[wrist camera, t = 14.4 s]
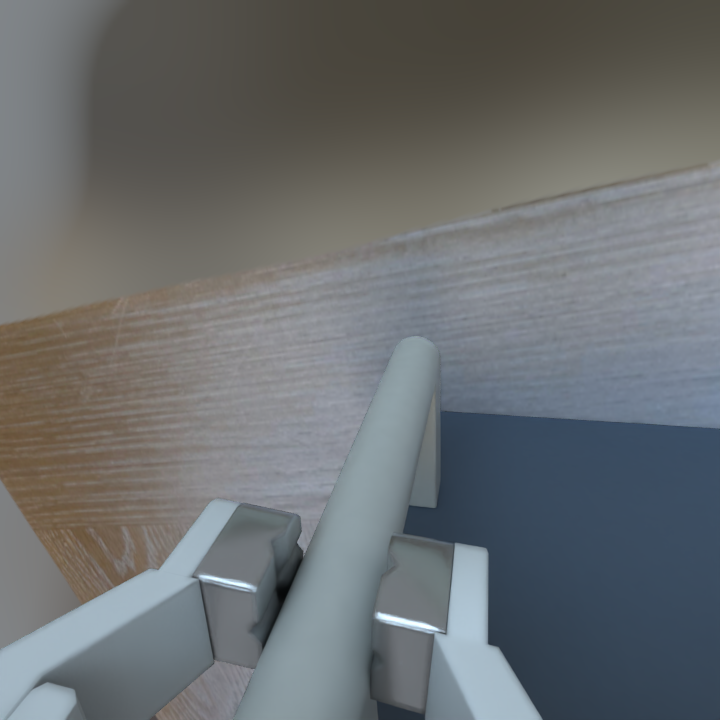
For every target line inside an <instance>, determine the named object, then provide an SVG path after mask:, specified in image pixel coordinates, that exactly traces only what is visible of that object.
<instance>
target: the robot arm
mask: <svg viewBox="0 0 720 720" xmlns="http://www.w3.org/2000/svg"><path fill="white" fill-rule="evenodd" d="M301 532H302V530H301V520H300V516H299V515H297V514H294V513H289V512H285V511H280V510H275V509H271V508H266V507H261V506H257V505H252V504H247V503H240V502H235V501H231V500H226V499H222V498H216V499H214V500H213V501H211V502H210V503H209V504H208V505H207V506H206V508H205V509H204V510H203V512H202V513H201V514H200V516H199V517H198V518H197V520H196V521H195V522H194V524H193V525H192V526H191V528H190V529H189V530H188V532H187V533H186V534H185V536H184V537H183V538H182V540H181V541H180V542H179V544H178V545H177V546H176V548H175V549H174V550H173V552H172V553H171V554H170V556H169V557H168V558H167V559H166V561H165V562H164V563H163V565H162V566H161V567H160V569H159V570H157V569H152V568H150V569H148V570H146V571H144V572H143V573H141V574H139V575H137V576H135V577H133V578H131V579H130V580H128V581H126V582H124V583H122V584H120V585H119V586H117V587H115V588H113V589H111V590H109V591H107V592H106V593H104V594H102V595H100V596H98V597H96V598H94V599H93V600H91V601H89V602H87V603H85V604H83V605H81V606H80V607H78V608H76V609H74V610H72V611H70V612H69V613H67V614H65V615H63V616H61V617H59V618H57V619H56V620H54V621H52V622H50V623H48V624H46V625H45V626H43V627H41V628H39V629H37V630H35V631H33V632H31V633H30V634H28V635H26V636H24V637H22V638H20V639H19V640H17V641H15V642H13V643H11V644H9V645H8V646H6V647H4V648H2V649H0V720H149V719H150V718H151V717H153V716H154V715H155V714H156V713H157V712H159V711H160V710H161V709H162V708H163V707H164V706H165V705H167V704H168V703H169V702H170V701H171V700H172V699H174V698H175V697H176V696H177V695H178V694H179V693H181V692H182V691H183V690H184V689H185V688H186V687H187V686H189V685H190V684H191V683H192V682H193V681H194V680H196V679H197V678H198V677H199V676H200V675H201V674H203V673H204V672H205V671H206V670H207V669H208V668H209V667H211V666H212V665H213V664H214V660H217V661H222V662H226V663H230V664H235V665H239V666H243V667H248V668H252V669H255V668H256V666H257V663H258V661H259V659H260V656H261V654H262V652H263V649H264V647H265V645H266V643H267V640H268V638H269V636H270V633H271V631H272V629H273V626H274V624H275V622H276V620H277V617H278V615H279V613H280V610H281V608H282V606H283V604H284V601H285V599H286V597H287V594H288V592H289V590H290V587H291V585H292V583H293V581H294V578H295V576H296V574H297V571H298V569H299V567H300V564H301V562H302V560H303V551H302V549H301V548H300V547H299V545H298V544H297V540H298V538H299V536H300V534H301ZM371 650H372V651H373V658H372V663H371V667H370V699H372V700H375V701H379V702H382V703H386V704H389V705H393V706H396V707H399V708H403V709H406V710H410V711H413V712H416V713H420V714H423V715H425V720H543V719H542V718H541V716H540V714H539V713H538V711H537V709H536V708H535V706H534V704H533V703H532V701H531V700H530V698H529V696H528V695H527V693H526V691H525V690H524V688H523V686H522V685H521V683H520V681H519V680H518V678H517V676H516V675H515V673H514V672H513V670H512V668H511V667H510V665H509V663H508V662H507V660H506V658H505V657H504V655H503V653H502V652H501V650H500V649H499V647H496V646H492V645H489V644H488V551H487V549H486V548H483V547H478V546H472V545H466V544H461V543H455V544H454V542H449V541H443V540H438V539H432V538H426V537H421V536H415V535H409V534H404V533H398V532H393V534H392V536H391V540H390V543H389V547H388V554H387V570H386V572H385V573H384V574H383V575H382V576H381V580H380V584H379V589H378V593H377V597H376V601H375V605H374V610H373V614H372V627H371Z"/></svg>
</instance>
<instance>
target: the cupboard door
mask: <svg viewBox="0 0 720 720" xmlns="http://www.w3.org/2000/svg"><path fill="white" fill-rule="evenodd" d="M393 532H398V533H404V534H409V535H415V536H421V537H426V538H432V539H438V540H443V541H449V542H454V544H455V543H461V544H466V545H472V546H478V547H483V548H486V549H487V551H488V644H489V645H492V646H496V647H499V649H500V650H501V652H502V653H503V655H504V657H505V658H506V660H507V662H508V663H509V665H510V667H511V668H512V670H513V672H514V673H515V675H516V676H517V678H518V680H519V681H520V683H521V685H522V686H523V688H524V690H525V691H526V693H527V695H528V696H529V698H530V700H531V701H532V703H533V704H534V706H535V708H536V709H537V711H538V713H539V714H540V716H541V718H542V719H543V720H720V429H714V428H698V427H682V426H666V425H650V424H634V423H619V422H603V421H587V420H571V419H555V418H539V417H523V416H508V415H492V414H476V413H460V412H444V411H440V353H439V351H438V349H437V347H436V346H435V345H434V344H433V343H432V342H431V341H429V340H428V339H426V338H423V337H418V336H412V337H407V338H405V339H403V340H401V341H400V342H399V343H398V344H397V345H396V347H395V349H394V351H393V353H392V355H391V358H390V360H389V362H388V365H387V367H386V369H385V371H384V374H383V376H382V378H381V381H380V383H379V385H378V388H377V390H376V392H375V394H374V397H373V399H372V401H371V404H370V406H369V408H368V411H367V413H366V415H365V417H364V420H363V422H362V424H361V427H360V429H359V431H358V433H357V436H356V438H355V440H354V443H353V445H352V447H351V450H350V452H349V454H348V456H347V459H346V461H345V463H344V466H343V468H342V470H341V473H340V475H339V477H338V479H337V482H336V484H335V486H334V489H333V491H332V493H331V496H330V498H329V500H328V502H327V505H326V507H325V509H324V512H323V514H322V516H321V518H320V521H319V523H318V525H317V528H316V530H315V532H314V535H313V537H312V539H311V541H310V544H309V546H308V548H307V551H306V553H305V555H304V558H303V560H302V562H301V564H300V567H299V569H298V571H297V574H296V576H295V578H294V581H293V583H292V585H291V587H290V590H289V592H288V594H287V597H286V599H285V601H284V604H283V606H282V608H281V610H280V613H279V615H278V617H277V620H276V622H275V624H274V626H273V629H272V631H271V633H270V636H269V638H268V640H267V643H266V645H265V647H264V649H263V652H262V654H261V656H260V659H259V661H258V663H257V666H256V668H255V670H254V672H253V675H252V677H251V679H250V682H249V684H248V686H247V689H246V691H245V693H244V695H243V698H242V700H241V702H240V705H239V707H238V709H237V711H236V714H235V716H234V718H233V720H425V715H423V714H420V713H416V712H413V711H410V710H406V709H403V708H399V707H396V706H393V705H389V704H386V703H382V702H379V701H375V700H372V699H370V667H371V663H372V658H373V651H372V650H371V627H372V614H373V610H374V605H375V601H376V597H377V593H378V589H379V584H380V580H381V576H382V575H383V574H384V573H385V572H386V570H387V554H388V547H389V543H390V540H391V536H392V534H393Z"/></svg>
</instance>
